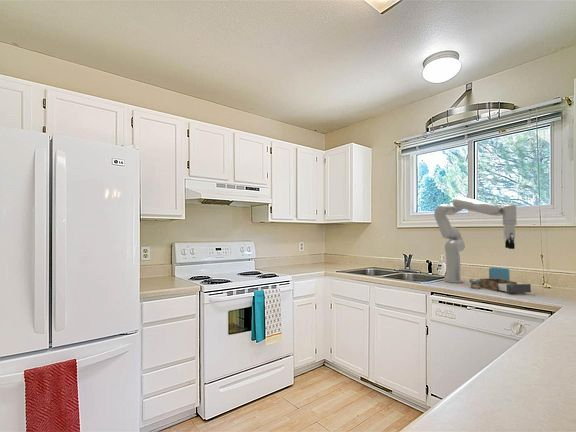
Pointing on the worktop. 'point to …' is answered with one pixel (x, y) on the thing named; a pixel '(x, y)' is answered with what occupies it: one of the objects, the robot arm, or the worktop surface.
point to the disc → (475, 281)
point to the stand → (474, 285)
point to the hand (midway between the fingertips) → (509, 248)
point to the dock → (494, 283)
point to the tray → (515, 288)
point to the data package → (499, 273)
